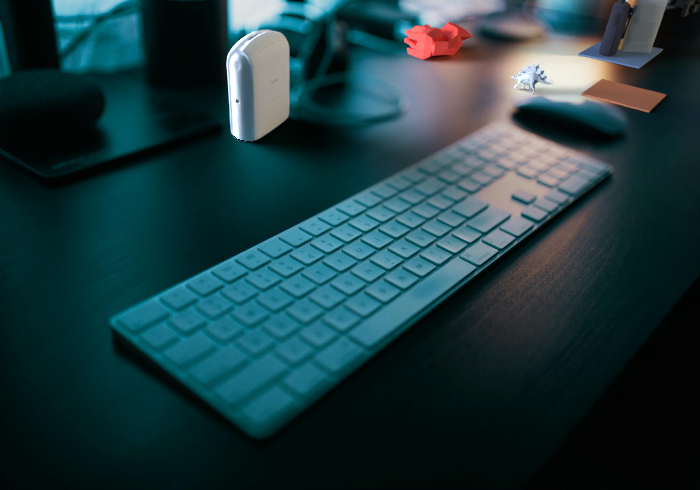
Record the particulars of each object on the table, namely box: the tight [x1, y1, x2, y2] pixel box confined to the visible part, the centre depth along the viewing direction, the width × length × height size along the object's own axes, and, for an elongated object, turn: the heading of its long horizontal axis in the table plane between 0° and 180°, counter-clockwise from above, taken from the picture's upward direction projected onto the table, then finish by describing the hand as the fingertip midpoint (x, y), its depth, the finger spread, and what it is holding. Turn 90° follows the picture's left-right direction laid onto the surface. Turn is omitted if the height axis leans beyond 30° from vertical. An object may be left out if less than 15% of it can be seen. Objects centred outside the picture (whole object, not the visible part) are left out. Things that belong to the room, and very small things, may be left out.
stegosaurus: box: [511, 63, 554, 94], centre depth 96 cm, size 2×7×5 cm, turn 60°
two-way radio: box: [599, 0, 638, 57], centre depth 115 cm, size 6×4×15 cm
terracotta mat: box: [580, 78, 667, 114], centre depth 98 cm, size 11×11×1 cm
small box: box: [618, 0, 668, 53], centre depth 121 cm, size 8×6×13 cm
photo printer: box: [226, 29, 290, 142], centre depth 74 cm, size 10×4×12 cm, turn 157°
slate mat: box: [578, 40, 664, 70], centre depth 122 cm, size 12×19×1 cm, turn 143°
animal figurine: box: [404, 21, 473, 60], centre depth 112 cm, size 12×15×5 cm
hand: (650, 4), depth 126 cm, fingers open, 13 cm apart
